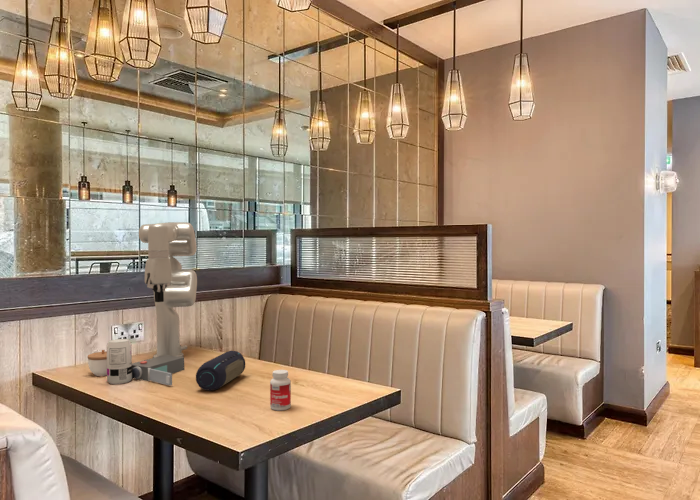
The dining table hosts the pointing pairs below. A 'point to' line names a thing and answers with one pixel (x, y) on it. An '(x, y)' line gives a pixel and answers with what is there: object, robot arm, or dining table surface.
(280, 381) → the pill bottle
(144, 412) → the dining table surface
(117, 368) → the supplement can
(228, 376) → the portable speaker
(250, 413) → the dining table surface
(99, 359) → the lidded jar
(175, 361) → the camera body
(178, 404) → the dining table surface
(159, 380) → the thin grey plank
